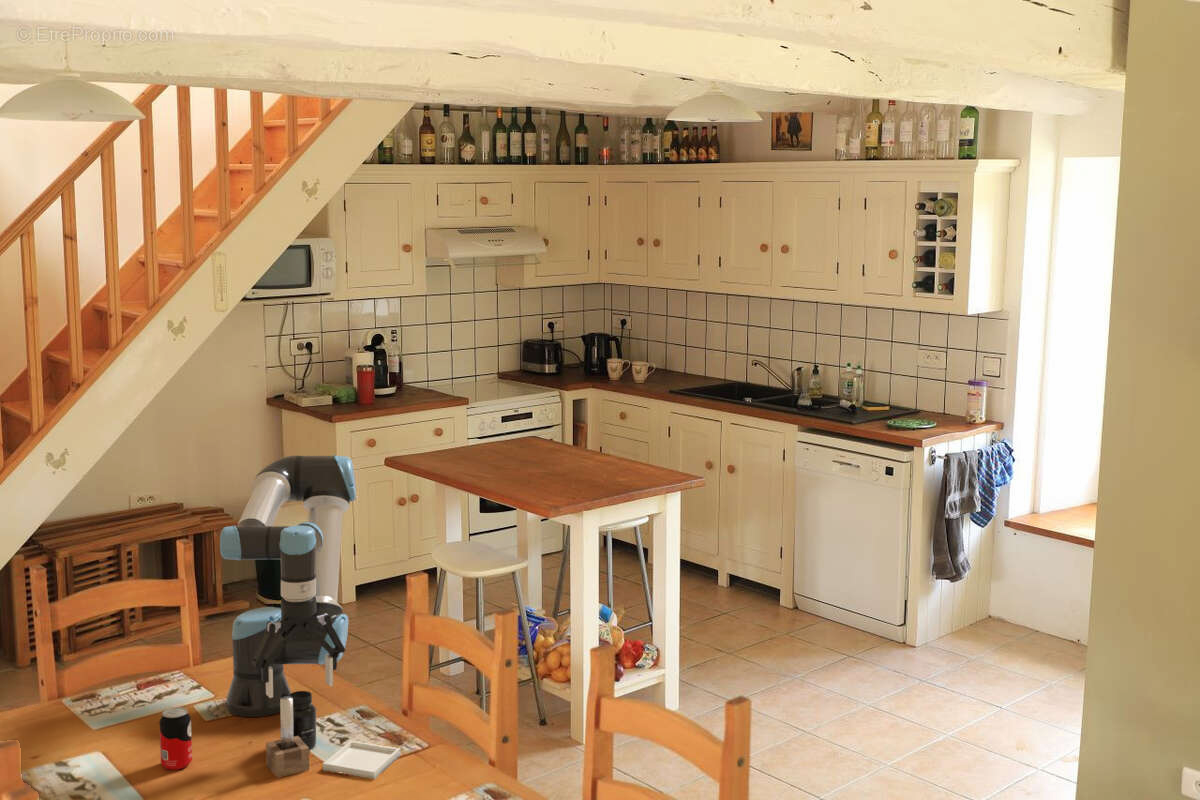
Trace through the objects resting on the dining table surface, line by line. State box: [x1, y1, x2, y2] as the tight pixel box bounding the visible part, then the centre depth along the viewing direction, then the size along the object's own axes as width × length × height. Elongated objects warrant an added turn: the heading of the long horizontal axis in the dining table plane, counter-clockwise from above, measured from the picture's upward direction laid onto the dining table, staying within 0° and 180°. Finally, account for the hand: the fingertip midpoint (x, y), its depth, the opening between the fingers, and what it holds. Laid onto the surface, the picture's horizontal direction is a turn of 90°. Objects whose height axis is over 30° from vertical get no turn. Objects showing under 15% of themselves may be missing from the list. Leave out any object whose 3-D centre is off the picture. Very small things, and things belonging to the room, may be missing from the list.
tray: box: [322, 740, 401, 780], centre depth 259 cm, size 12×12×2 cm
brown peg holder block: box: [265, 736, 310, 778], centre depth 256 cm, size 7×7×5 cm
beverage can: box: [159, 706, 193, 771], centre depth 255 cm, size 6×6×12 cm
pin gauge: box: [279, 696, 294, 750], centre depth 255 cm, size 3×3×14 cm
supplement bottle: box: [290, 690, 317, 750], centre depth 266 cm, size 7×7×12 cm
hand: (299, 690), depth 264 cm, fingers open, 13 cm apart
